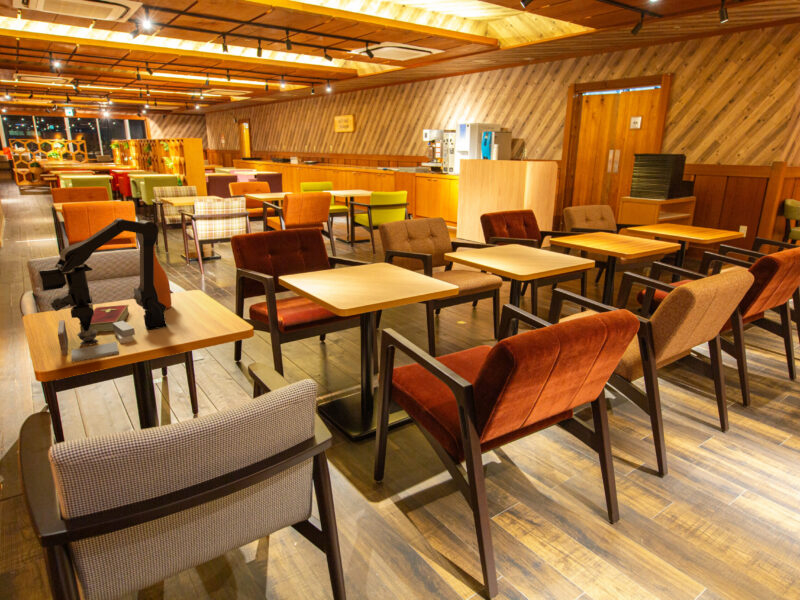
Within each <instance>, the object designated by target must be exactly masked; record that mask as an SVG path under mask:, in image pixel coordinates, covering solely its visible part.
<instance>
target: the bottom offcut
mask: <svg viewBox="0 0 800 600" xmlns="http://www.w3.org/2000/svg"><path fill="white" fill-rule="evenodd" d="M114 333H115V334H114V335H116V337H118V338H117V340H118V341H119V343H120V344H124V343H129V342H133V341H134V335H131V336H127V337H123V336H122V335H120V334H119V333H118V332H116V331H114Z"/></svg>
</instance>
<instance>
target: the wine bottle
mask: <svg viewBox="0 0 800 600" xmlns="http://www.w3.org/2000/svg"><path fill="white" fill-rule="evenodd" d="M154 287H155V289H156V292H157V295H158V301H159V302H160V303H162V304H164V305H165V306H166V309H165V310H167V308H168V309H170V308H171V307H172V296H171V295H172V294H171V287H170V280H169V278H168V275H167V273H166V272H165V270H164V268H163V267H162V266H161V264H160V262H159V259H158V257H157V254H156V244H155V245H154Z"/></svg>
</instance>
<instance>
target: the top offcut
mask: <svg viewBox="0 0 800 600" xmlns="http://www.w3.org/2000/svg"><path fill="white" fill-rule="evenodd" d="M112 324H113V329H114V330H115V331H116V332H118V333H119V334H120V335H122V336H123V337H127V336H131V335H132V336H135V335H136V332H135V327H133V326H131V324H129V323H127V322H126V321H125V320H124V321H120V322H115V323H112ZM115 331H114V332H115Z"/></svg>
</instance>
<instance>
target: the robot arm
mask: <svg viewBox="0 0 800 600" xmlns="http://www.w3.org/2000/svg"><path fill="white" fill-rule="evenodd" d="M159 230H160V229H159V226H158V225H157V224H156V223H155V222H153V221H150V220H144V219H141V220H139V221H134V220H127V219H123V218H115V219H114V220H113V221H112V222H110V224H108V225H106V226H104V227H103V228H101V229H100V230H99V231H97V232H96V233H94V234H93V235H92V234H91V236H89V237H88V238H86V239H85V240H82V241H80V242H76V243H74V244H71V245H69V246H67V247H64V248H63V249H61V251H60V253H59V254H60V255H59V260H58V261H57V262H56V264H55V266H54V268H50V269H39V270H37V279H36V280H37V284H38V287H39V289H40V291H41V292H48V291H53V290H59V289H63V288H64V287H65V286H66V285H67V292H66V293H63V294H61V295H59V296H56V297H55V298H52V299H50V300H49V304H50V305H51V308H52V309H53V310H54V311H55V312H58V311H60V310H61V309H64V308H65V307H68V306H69V307H71V308H70V316H71V319H75V318H77V319H78V321H79V323H80V322H81V324H82V326H83V328H84V330H85V331H88V330H89V327H90V323H91V320H92V316H93V315H94V306H93V304H92V303H93V297H92V295H91V293H90V287H89V283H88V277H87V272H90V271H93V268H92V267H90V266H88V265H87V264H86V262H87V261H88V259H90V257H91V256H92V254H93V253H94V252H95V251H96V250H98V249H99V248H101V247H102V246H104V245H106V244H107V243H108V242H110V241H111V240H113V239H114V238H115V237H118V236H119V235H120V234H122V233H124V232H129V233H135V237H136V240H137V242H138V245H139V284H138V287H134V288H133V294H134V296H133V300H135V303H136V304H137V305H138V306H139V307H141V308H142V309H143V310H144V314H143V320H144V326H145V328H147V330H154V329H160V328H166V327H168V326H167V325H168V324H167V322H166V316H165V312H166V310H167V309H166V306H165V305H164V304H162V303H160V302H159V301H158V295H157V292H156V289H155V287H154V245H155V246H156V243H157V240H158V236H159Z"/></svg>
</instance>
